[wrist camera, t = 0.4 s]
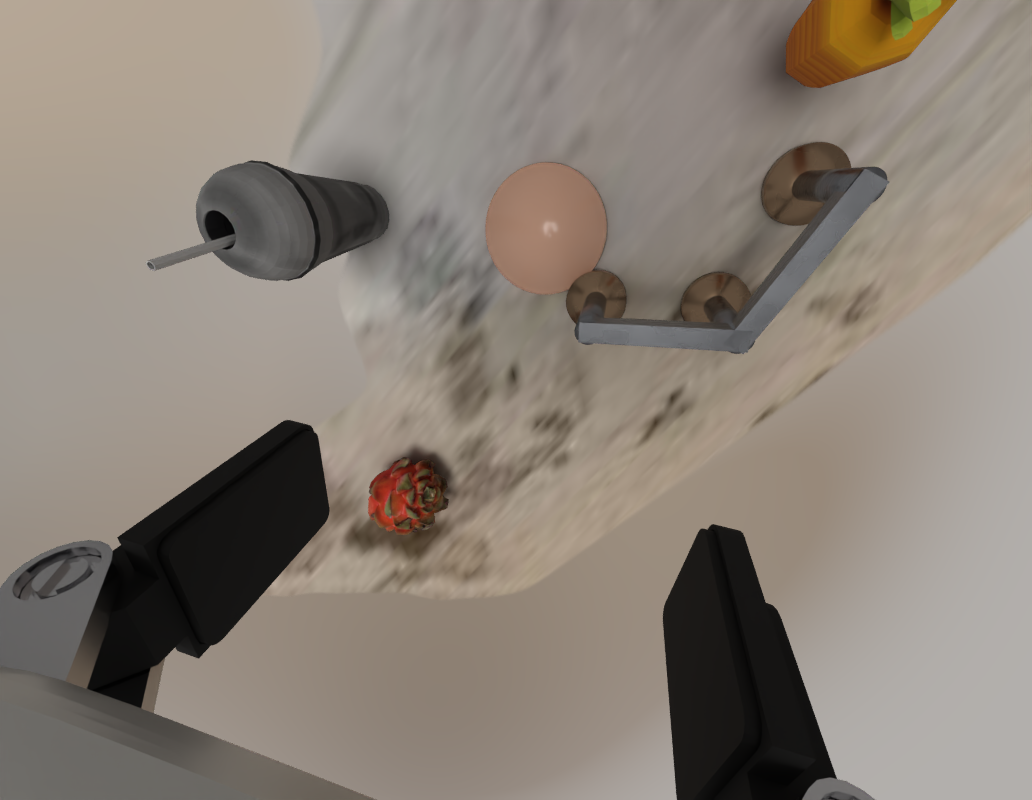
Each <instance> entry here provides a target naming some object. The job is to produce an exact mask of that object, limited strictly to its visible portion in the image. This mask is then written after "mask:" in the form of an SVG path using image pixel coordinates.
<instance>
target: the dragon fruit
mask: <svg viewBox="0 0 1032 800" xmlns="http://www.w3.org/2000/svg"><path fill="white" fill-rule="evenodd" d="M411 462H412V460H410V459H409V458H403V459H402V460H398V461H396V462H394V463H393V465H392V467H391V468H390V469H388V470H386V471H383V472H382V473H380V474H378V475H377V476H376V477H375V478H374V480H373V481H372V482H371V484H370V487H369V488H370V490H369V493H370V494H372V495H371V496H370V497H369V499H368V500H369V505H368V513H369V516H370V519H371V520H375V522H376V523H377V525H378V526H379V527H380V528H386V530H387V531H388V532H391V531H393V530H394V529H395V531H396V533H397V535H408V534H410V533H411V532H412V531H413V532H417V529H414V528H415V527H417V528H422V529H421V530H426V529H429V528H430V527H431V526H433V524H434V523H435V516H434V513H437V512H439V511H441V510H444V509H446V508H447V506H448V499H446V498H445V497H444V496H443V494H444V492H445V490H446V488H447V487H448V486H447V480H446V479H444V478H443V477H441V476H440V475H438V474H435V473H434V472H433V467H434V466H435V463H433V462H432V461H430V459H427V460H422V461H419V462H418V463H416V465H413V464H412V463H411Z"/></svg>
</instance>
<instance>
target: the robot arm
mask: <svg viewBox="0 0 1032 800" xmlns="http://www.w3.org/2000/svg"><path fill="white" fill-rule="evenodd" d="M328 516H329V504H328V497H327V491H326V484H325V478H324V472H323V465H322V459H321V453H320V446H319V440H318V436H317V434H316V433H315V432H314V431H313V428H312V427H311V426H310V425H307V424H303V423H299V422H295V421H291V420H286V421H283V422H281V423H280V424H278V425H277V426H276V427H274V428H273V429H271V430H270V431H269V432H267V433H266V434H264V435H263V436H261V437H260V438H258V439H257V440H256V441H254V442H253V443H251V444H250V445H248V446H247V447H246V448H244V449H243V450H241V451H240V452H238V453H237V454H236V455H234V456H233V457H231V458H230V459H229V460H227V461H226V462H224V463H223V464H221V465H220V466H219V467H217V468H216V469H214V470H213V471H211V472H210V473H209V474H207V475H206V476H204V477H203V478H201V479H200V480H199V481H197V482H196V483H194V484H193V485H191V486H190V487H189V488H187V489H186V490H184V491H183V492H182V493H180V494H179V495H177V496H176V497H175V498H173V499H172V500H170V501H169V502H167V503H166V504H164V505H163V506H161V507H160V508H159V509H157V510H156V511H154V512H153V513H151V514H150V515H149V516H147V517H146V518H144V519H143V520H142V521H140V522H139V523H137V524H136V525H134V526H133V527H132V528H130V529H129V530H127V531H126V532H125V533H123V534H122V535H120V536H119V537H118V540H119V542H120V543H121V546H119V547H118V548H116V549H115V550H114V551H112V549H111V548H110V546H109V545H108V544H106V543H103V542H101V541H92V540H87V541H79V542H73V543H69V544H66V545H62V546H59V547H56V548H54V549H51V550H49V551H47V552H44V553H42V554H40V555H38V556H36V557H35V558H33V559H31V560H30V561H28V562H26V563H25V564H23V565H22V566H21V567H19V568H18V569H17V570H16V571H15V572H13V573H12V574H11V575H10V576H9V577H8V579H7V580H6V581H5V582H4V583H3V585H2V586H1V588H0V800H376V799H373V798H371V797H368V796H365V795H363V794H360V793H358V792H355V791H353V790H350V789H348V788H345V787H343V786H340V785H338V784H335V783H332V782H330V781H327V780H325V779H322V778H319V777H317V776H314V775H312V774H309V773H307V772H304V771H302V770H299V769H296V768H294V767H291V766H289V765H286V764H284V763H281V762H279V761H276V760H274V759H271V758H268V757H266V756H263V755H261V754H258V753H255V752H253V751H250V750H248V749H245V748H243V747H240V746H237V745H234V744H232V743H229V742H227V741H224V740H222V739H219V738H216V737H214V736H211V735H209V734H206V733H203V732H201V731H198V730H196V729H193V728H190V727H188V726H185V725H183V724H180V723H178V722H175V721H172V720H170V719H167V718H164V717H162V716H159V715H156V714H154V708H155V703H156V698H157V693H158V689H159V684H160V679H161V674H162V669H163V665H164V660H165V657H166V656H167V655H168V654H169V653H170V652H171V651H172V650H173V649H174V648H175V647H176V649H177V651H179V652H182V653H185V654H188V655H190V656H193V657H196V658H200V657H201V656H202V654H203V653H204V652H205V651H206V650H207V649H208V648H209V647H210V646H211V645H215V644H217V643H218V642H220V641H221V640H222V639H223V638H224V637H225V636H226V635H227V634H228V632H229V631H230V630H231V629H232V628H233V627H234V626H235V625H236V623H237V622H238V621H239V620H240V619H241V618H242V617H243V615H244V614H245V613H246V612H247V611H248V610H249V609H250V608H251V606H252V605H253V604H254V603H255V602H256V601H257V600H258V599H259V597H260V596H261V595H262V594H263V593H264V592H265V591H266V589H267V588H268V587H269V586H270V585H271V584H272V583H273V582H274V580H275V579H276V578H277V577H278V576H279V575H280V574H281V572H282V571H283V570H284V569H285V568H286V567H287V566H288V565H289V563H290V562H291V561H292V560H293V559H294V558H295V557H296V555H297V554H298V553H299V552H300V551H301V550H302V549H303V548H304V546H305V545H306V544H307V543H308V542H309V541H310V540H311V538H312V537H313V536H314V535H315V534H316V533H317V532H318V531H319V529H320V528H321V527H322V526H323V525H324V524H325V522H326V520H327V519H328ZM663 627H664V640H665V652H666V666H667V678H668V692H669V705H670V718H671V730H672V743H673V756H674V769H675V783H676V795H677V800H875V799H873V798H872V797H871V796H870V795H869V794H867V793H866V792H865V791H863V790H861V789H860V788H858V787H856V786H854V785H852V784H850V783H848V782H847V781H843V780H838V779H837V778H836V775H835V772H834V769H833V767H832V764H831V761H830V758H829V755H828V752H827V749H826V746H825V744H824V741H823V738H822V735H821V732H820V729H819V726H818V723H817V720H816V717H815V715H814V712H813V709H812V706H811V703H810V700H809V697H808V694H807V692H806V689H805V686H804V683H803V680H802V677H801V674H800V671H799V668H798V665H797V663H796V660H795V657H794V654H793V651H792V648H791V645H790V642H789V640H788V637H787V634H786V631H785V628H784V625H783V622H782V619H781V617H780V615H779V613H778V611H777V609H776V608H775V607H774V606H773V605H771V604H768V603H766V602H765V600H764V596H763V593H762V590H761V587H760V584H759V581H758V577H757V575H756V571H755V568H754V565H753V562H752V559H751V556H750V553H749V550H748V546H747V544H746V541H745V537H744V535H743V533H742V532H741V531H738V530H735V529H730V528H727V527H722V526H718V525H714V524H713V525H711V526H710V527H709V528H708V530H706V529H700V531H699V532H698V534H697V536H696V538H695V541H694V543H693V545H692V547H691V549H690V551H689V553H688V556H687V558H686V560H685V562H684V564H683V567H682V568H681V571H680V573H679V575H678V577H677V579H676V581H675V583H674V586H673V588H672V590H671V592H670V594H669V596H668V599H667V601H666V603H665V606H664V611H663Z"/></svg>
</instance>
